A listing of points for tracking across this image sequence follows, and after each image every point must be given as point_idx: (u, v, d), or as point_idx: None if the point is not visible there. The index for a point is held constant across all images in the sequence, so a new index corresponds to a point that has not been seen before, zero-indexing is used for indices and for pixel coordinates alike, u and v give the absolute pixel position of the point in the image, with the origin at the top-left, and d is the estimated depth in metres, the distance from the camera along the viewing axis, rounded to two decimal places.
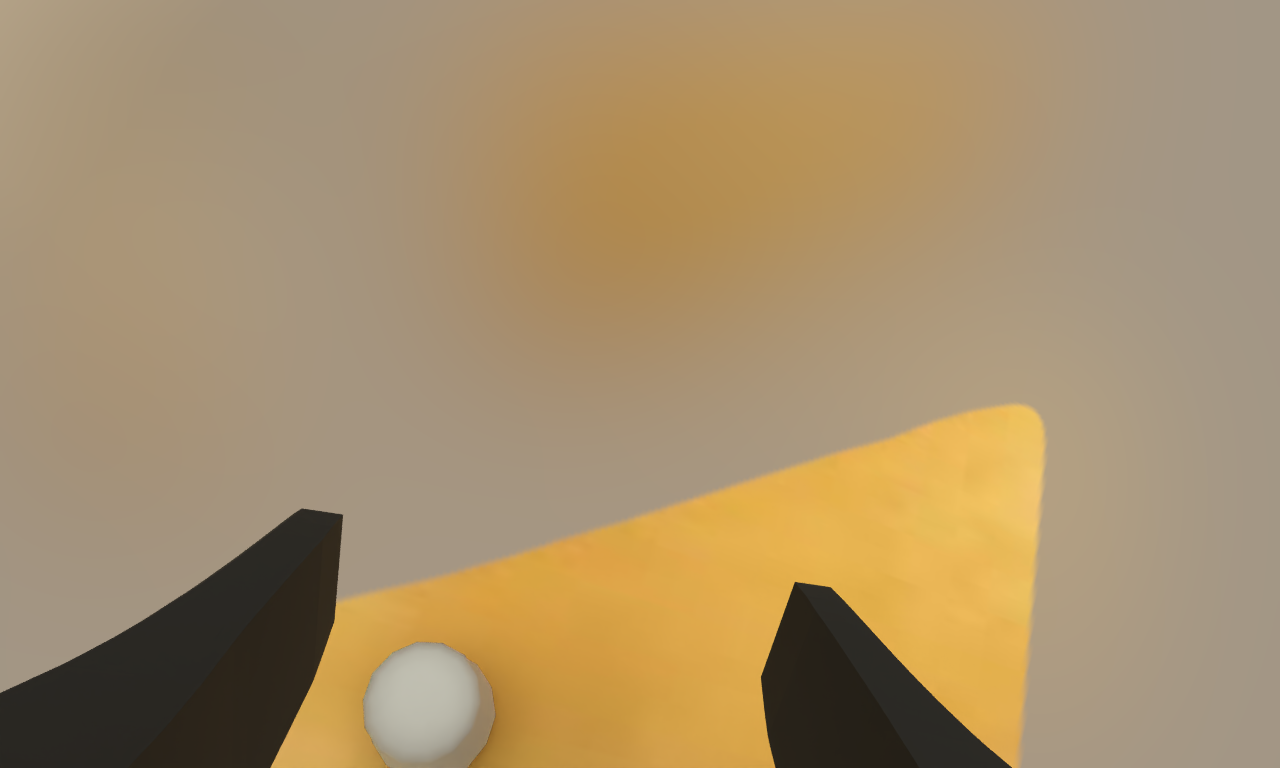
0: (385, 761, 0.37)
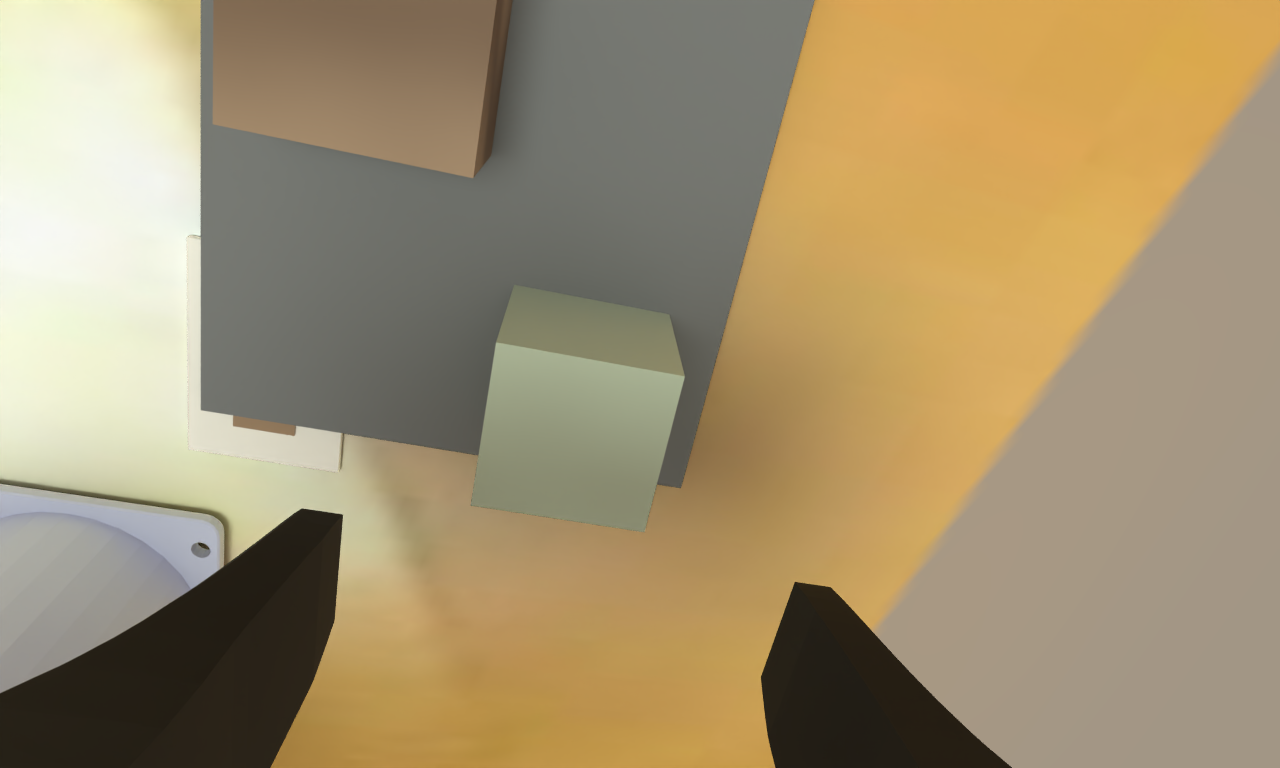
0: None
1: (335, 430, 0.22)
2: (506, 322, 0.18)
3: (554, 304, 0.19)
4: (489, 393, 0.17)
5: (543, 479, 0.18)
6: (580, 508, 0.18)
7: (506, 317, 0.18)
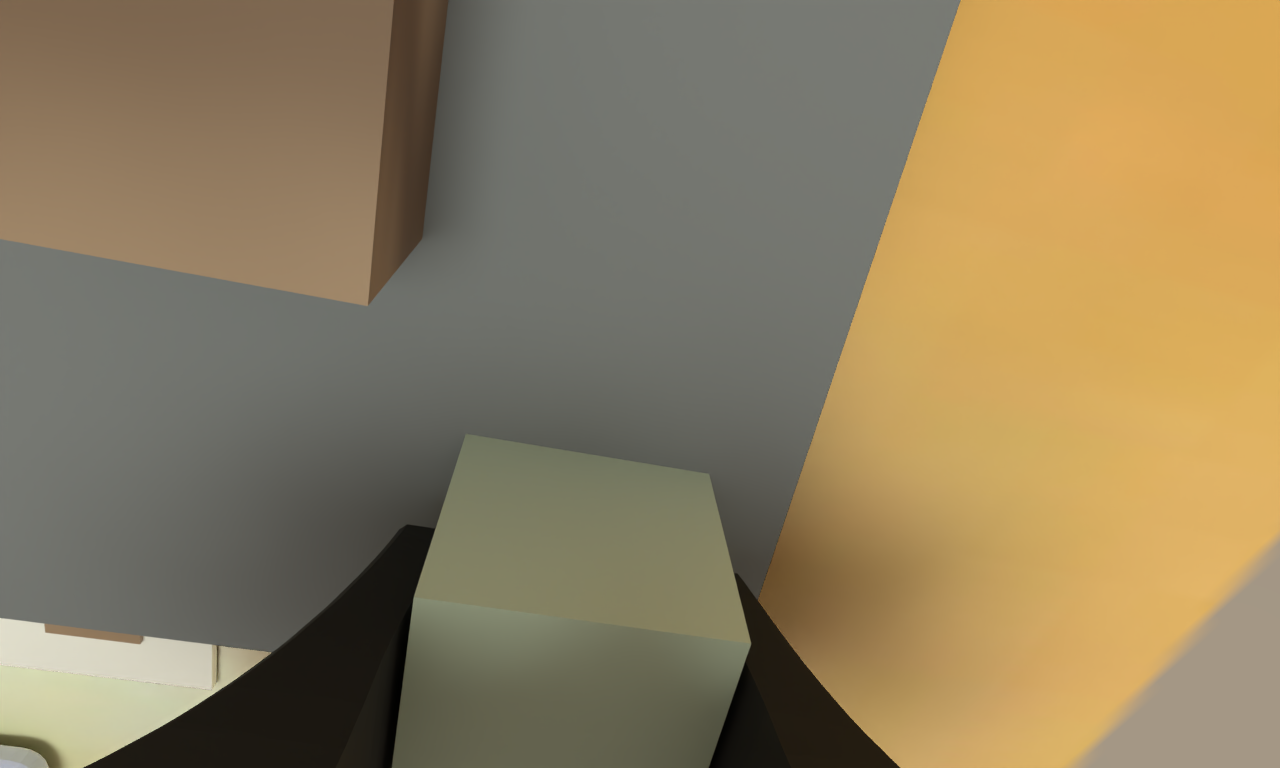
0: None
1: (199, 640, 0.14)
2: (439, 534, 0.10)
3: (528, 475, 0.12)
4: (406, 675, 0.10)
5: None
6: None
7: (442, 520, 0.11)
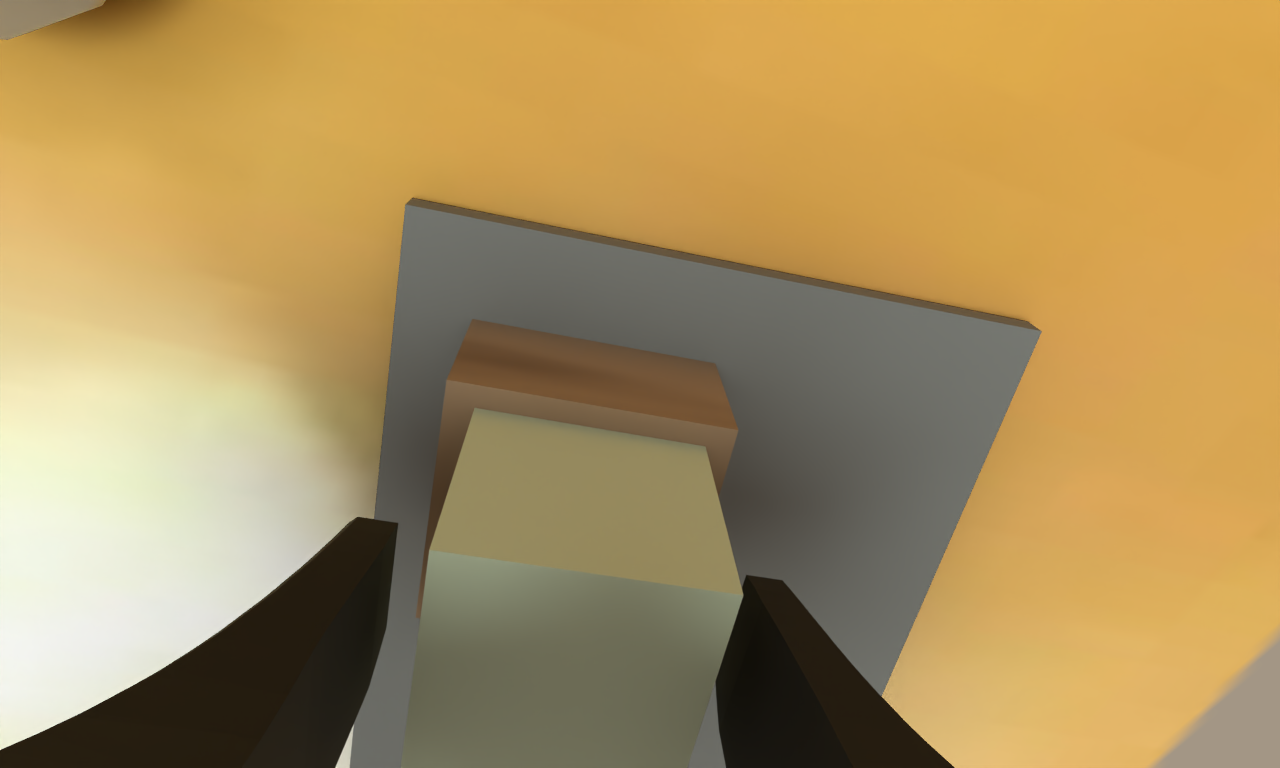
0: None
1: None
2: (452, 496, 0.11)
3: (533, 445, 0.13)
4: (421, 625, 0.10)
5: (513, 743, 0.11)
6: None
7: (454, 484, 0.11)
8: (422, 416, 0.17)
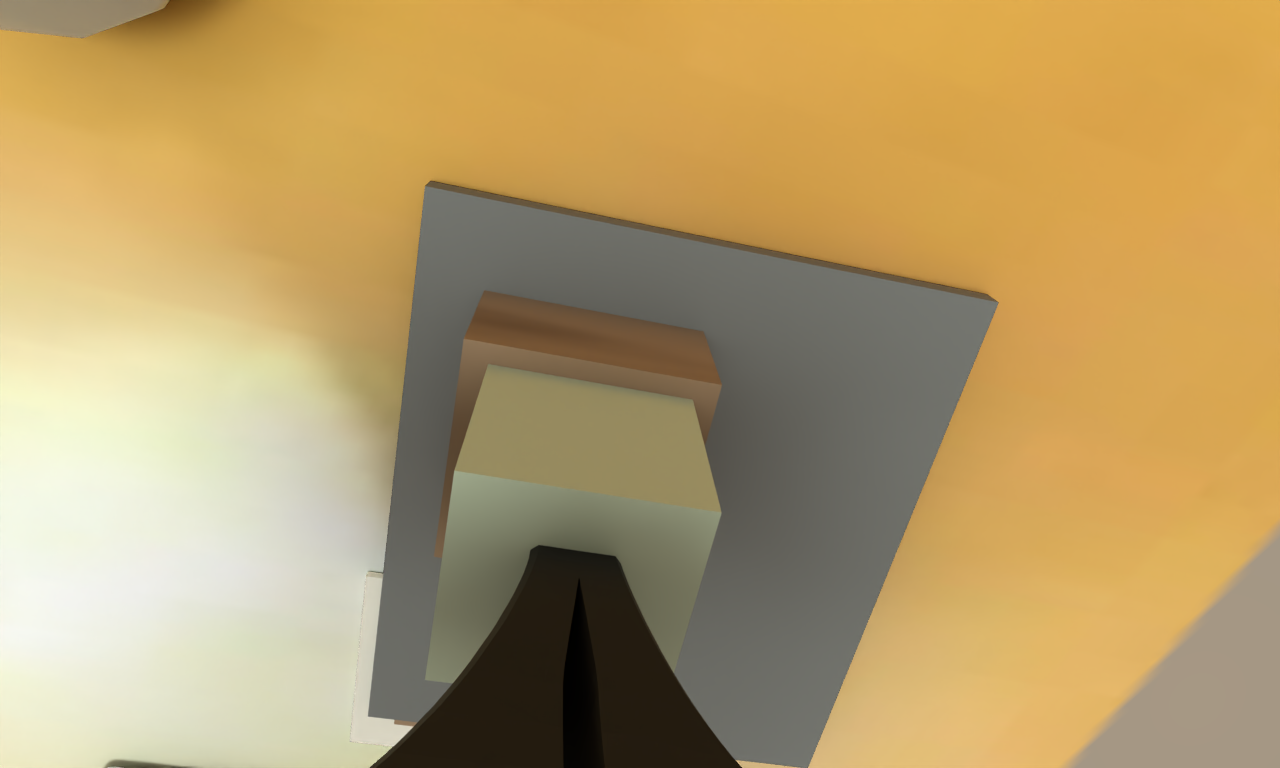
0: None
1: None
2: (472, 431, 0.13)
3: (541, 395, 0.15)
4: (446, 538, 0.12)
5: None
6: None
7: (473, 422, 0.13)
8: (438, 379, 0.19)
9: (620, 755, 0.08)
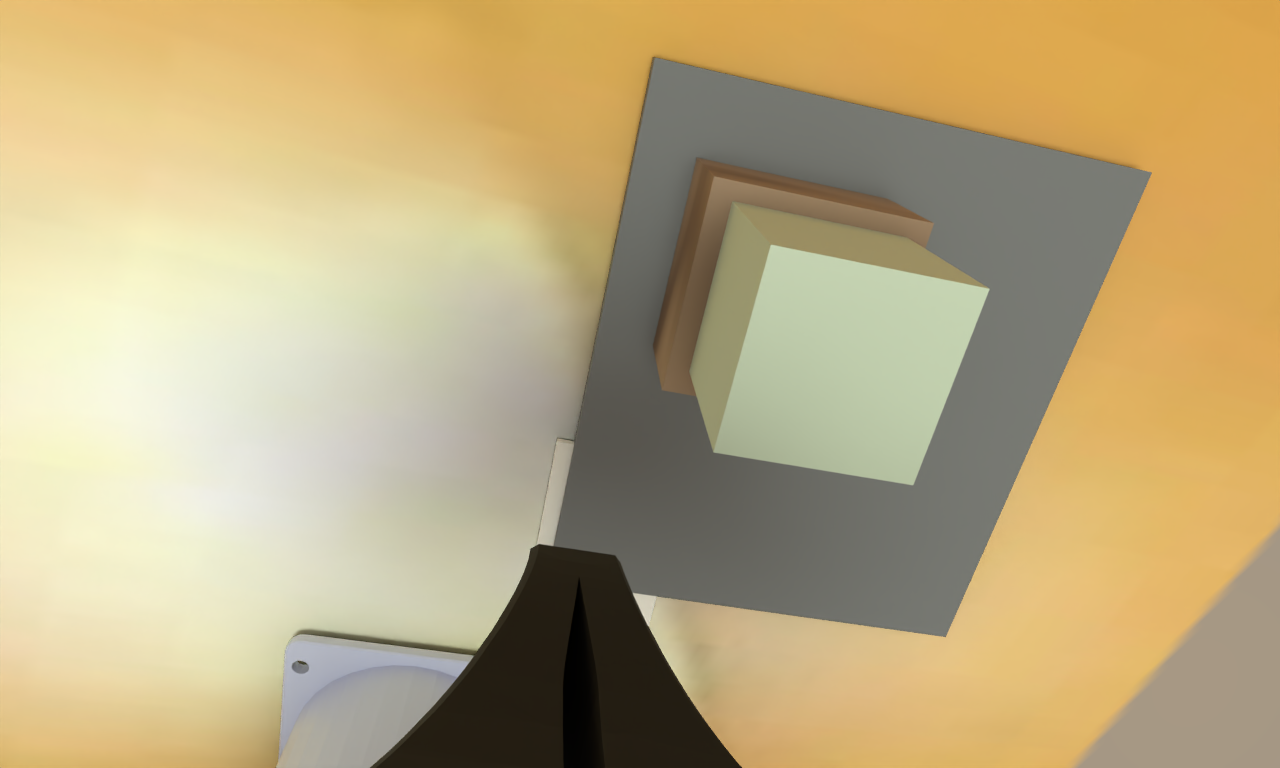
0: None
1: (657, 594, 0.25)
2: (761, 229, 0.15)
3: (790, 220, 0.16)
4: (754, 310, 0.14)
5: (803, 419, 0.15)
6: (841, 455, 0.15)
7: (756, 225, 0.15)
8: (647, 244, 0.21)
9: (620, 755, 0.08)
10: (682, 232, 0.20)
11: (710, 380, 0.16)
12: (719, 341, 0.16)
